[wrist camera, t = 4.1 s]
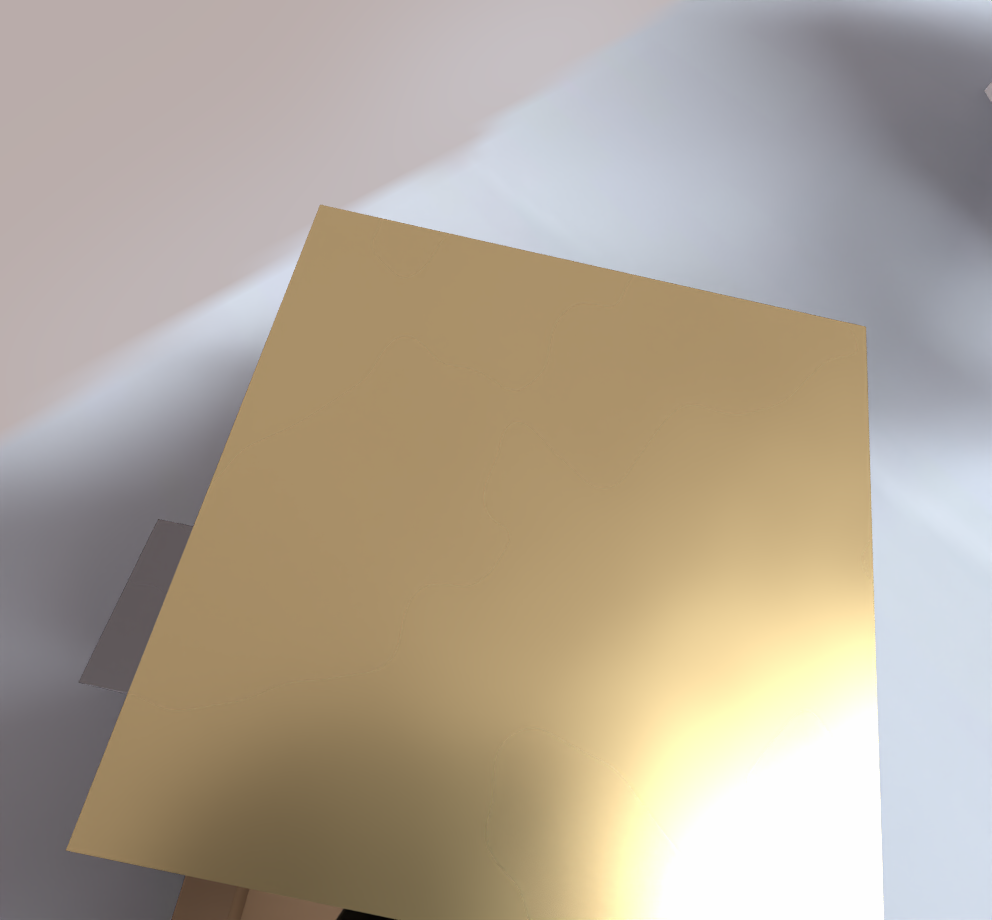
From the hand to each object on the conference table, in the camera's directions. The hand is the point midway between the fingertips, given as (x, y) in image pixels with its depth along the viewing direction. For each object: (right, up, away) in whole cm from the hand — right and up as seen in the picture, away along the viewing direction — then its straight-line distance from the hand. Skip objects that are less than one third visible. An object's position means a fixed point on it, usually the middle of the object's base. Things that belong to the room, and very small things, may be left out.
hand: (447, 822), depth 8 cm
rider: (0, +1, +4) cm, 4 cm away
